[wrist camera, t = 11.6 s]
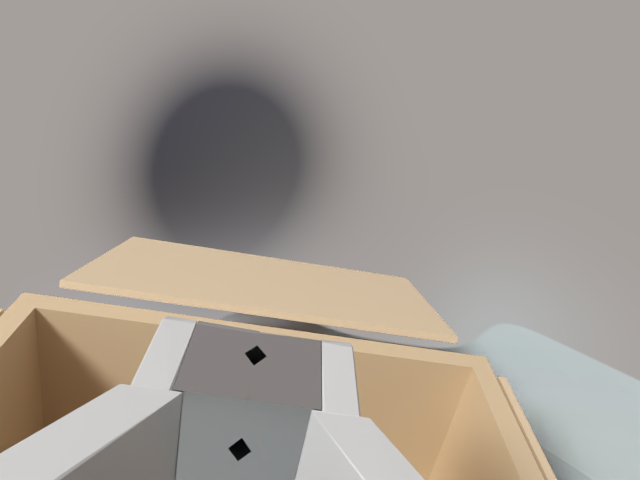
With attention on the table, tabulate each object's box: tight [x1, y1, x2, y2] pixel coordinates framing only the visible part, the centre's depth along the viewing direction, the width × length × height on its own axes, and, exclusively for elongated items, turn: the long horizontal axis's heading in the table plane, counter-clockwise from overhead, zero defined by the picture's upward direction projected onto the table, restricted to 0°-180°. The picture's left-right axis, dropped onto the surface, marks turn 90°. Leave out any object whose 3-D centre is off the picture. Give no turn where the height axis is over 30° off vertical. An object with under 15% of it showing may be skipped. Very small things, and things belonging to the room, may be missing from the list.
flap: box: [59, 237, 458, 343], centre depth 25 cm, size 16×1×10 cm
